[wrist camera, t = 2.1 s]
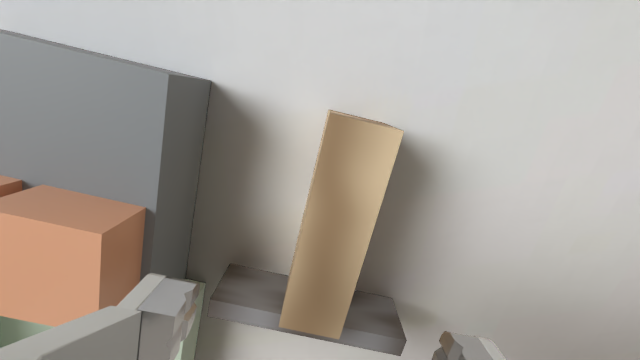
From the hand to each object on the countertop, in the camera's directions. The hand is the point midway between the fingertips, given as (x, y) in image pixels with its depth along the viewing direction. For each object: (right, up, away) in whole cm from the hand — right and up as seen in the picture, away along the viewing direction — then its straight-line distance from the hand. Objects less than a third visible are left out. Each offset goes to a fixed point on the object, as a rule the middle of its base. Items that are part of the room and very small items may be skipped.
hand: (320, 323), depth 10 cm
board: (-14, +5, +10) cm, 18 cm away
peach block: (-12, +2, +5) cm, 13 cm away
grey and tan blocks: (+1, +3, +10) cm, 11 cm away
